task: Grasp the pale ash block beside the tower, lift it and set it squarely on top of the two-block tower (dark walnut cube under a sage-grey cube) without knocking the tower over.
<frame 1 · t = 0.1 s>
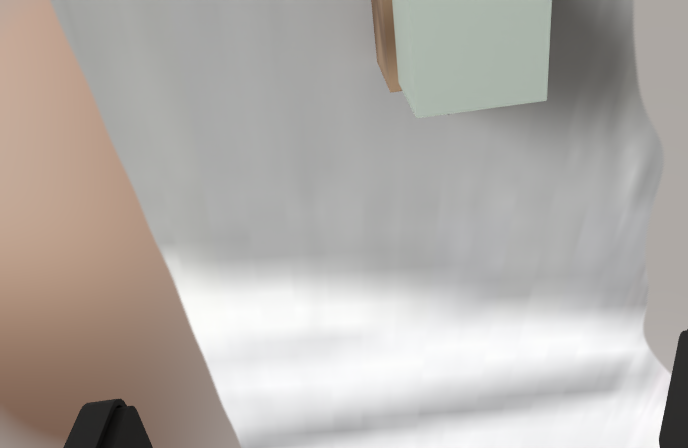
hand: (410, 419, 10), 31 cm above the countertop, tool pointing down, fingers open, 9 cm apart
sage top block: (451, 18, 30), point 7 cm above the countertop, touching walnut base block
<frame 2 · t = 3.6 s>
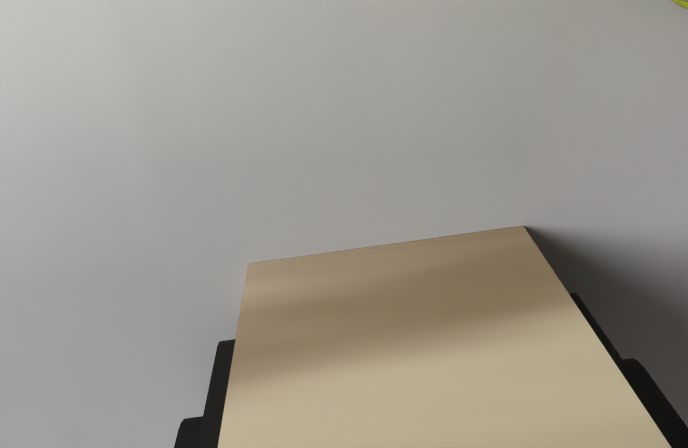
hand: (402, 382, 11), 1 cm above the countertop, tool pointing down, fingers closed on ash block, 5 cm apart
ash block: (396, 349, 12), on the countertop, touching gripper
when the fingers open (15 cm above the countertop, at t = 10.2 s): ash block drops 1 cm, resting on sage top block.
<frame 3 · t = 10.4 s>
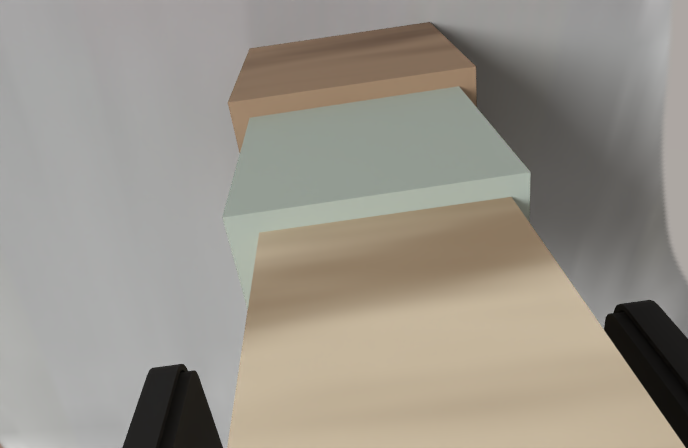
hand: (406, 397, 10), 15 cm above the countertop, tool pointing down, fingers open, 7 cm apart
ash block: (395, 314, 13), point 13 cm above the countertop, touching sage top block
sage top block: (366, 195, 18), point 7 cm above the countertop, touching ash block, walnut base block
walnut base block: (350, 121, 24), on the countertop, touching sage top block
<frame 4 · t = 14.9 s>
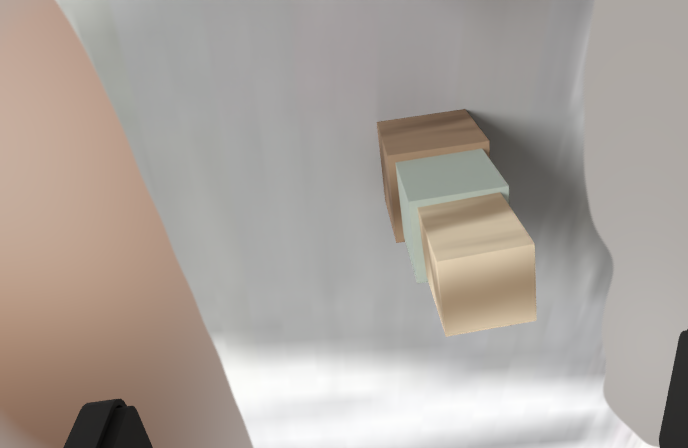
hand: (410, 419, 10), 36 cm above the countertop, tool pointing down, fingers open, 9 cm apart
ash block: (461, 235, 36), point 13 cm above the countertop
sage top block: (441, 194, 41), point 7 cm above the countertop, touching walnut base block
walnut base block: (423, 156, 47), on the countertop, touching sage top block
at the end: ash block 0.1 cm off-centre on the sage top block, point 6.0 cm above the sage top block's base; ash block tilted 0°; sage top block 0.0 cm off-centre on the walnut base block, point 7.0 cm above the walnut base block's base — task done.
